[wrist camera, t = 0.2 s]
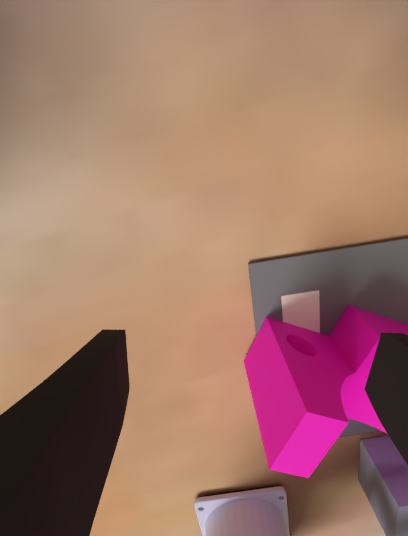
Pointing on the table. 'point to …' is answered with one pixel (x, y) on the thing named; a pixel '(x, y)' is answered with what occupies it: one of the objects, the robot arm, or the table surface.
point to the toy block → (312, 385)
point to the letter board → (333, 290)
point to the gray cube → (385, 483)
